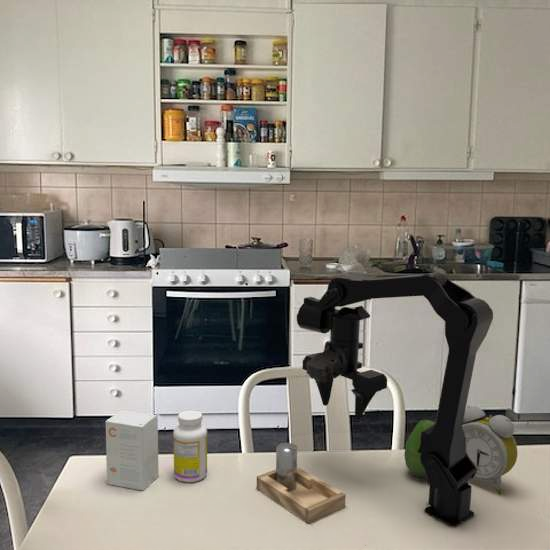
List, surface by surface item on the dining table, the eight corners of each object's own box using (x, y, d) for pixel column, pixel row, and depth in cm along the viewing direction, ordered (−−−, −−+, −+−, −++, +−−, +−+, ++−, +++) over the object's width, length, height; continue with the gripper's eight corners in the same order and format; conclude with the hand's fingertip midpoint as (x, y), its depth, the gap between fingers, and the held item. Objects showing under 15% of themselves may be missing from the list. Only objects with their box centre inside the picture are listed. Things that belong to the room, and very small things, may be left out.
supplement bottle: (191, 464, 126) (191, 405, 124) (214, 474, 122) (214, 414, 120) (166, 476, 121) (166, 415, 119) (189, 487, 117) (189, 424, 115)
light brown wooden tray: (345, 507, 111) (345, 494, 111) (308, 523, 105) (309, 510, 105) (291, 474, 123) (292, 463, 122) (256, 488, 117) (256, 476, 116)
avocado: (446, 485, 120) (451, 428, 118) (406, 484, 120) (410, 427, 118) (436, 466, 128) (440, 412, 126) (399, 465, 128) (402, 411, 126)
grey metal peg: (300, 487, 117) (301, 448, 115) (284, 493, 114) (285, 453, 113) (287, 479, 120) (288, 441, 119) (271, 485, 117) (272, 446, 116)
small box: (159, 476, 121) (158, 414, 119) (143, 491, 115) (142, 426, 113) (123, 469, 123) (122, 408, 121) (105, 484, 117) (104, 420, 115)
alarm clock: (448, 475, 124) (454, 405, 122) (466, 465, 128) (472, 398, 126) (502, 498, 115) (509, 424, 113) (519, 487, 120) (526, 415, 117)
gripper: (283, 333, 123) (281, 406, 125) (350, 356, 109) (346, 438, 111) (323, 326, 130) (320, 395, 132) (391, 346, 116) (386, 423, 118)
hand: (341, 412), depth 123 cm, fingers open, 9 cm apart
